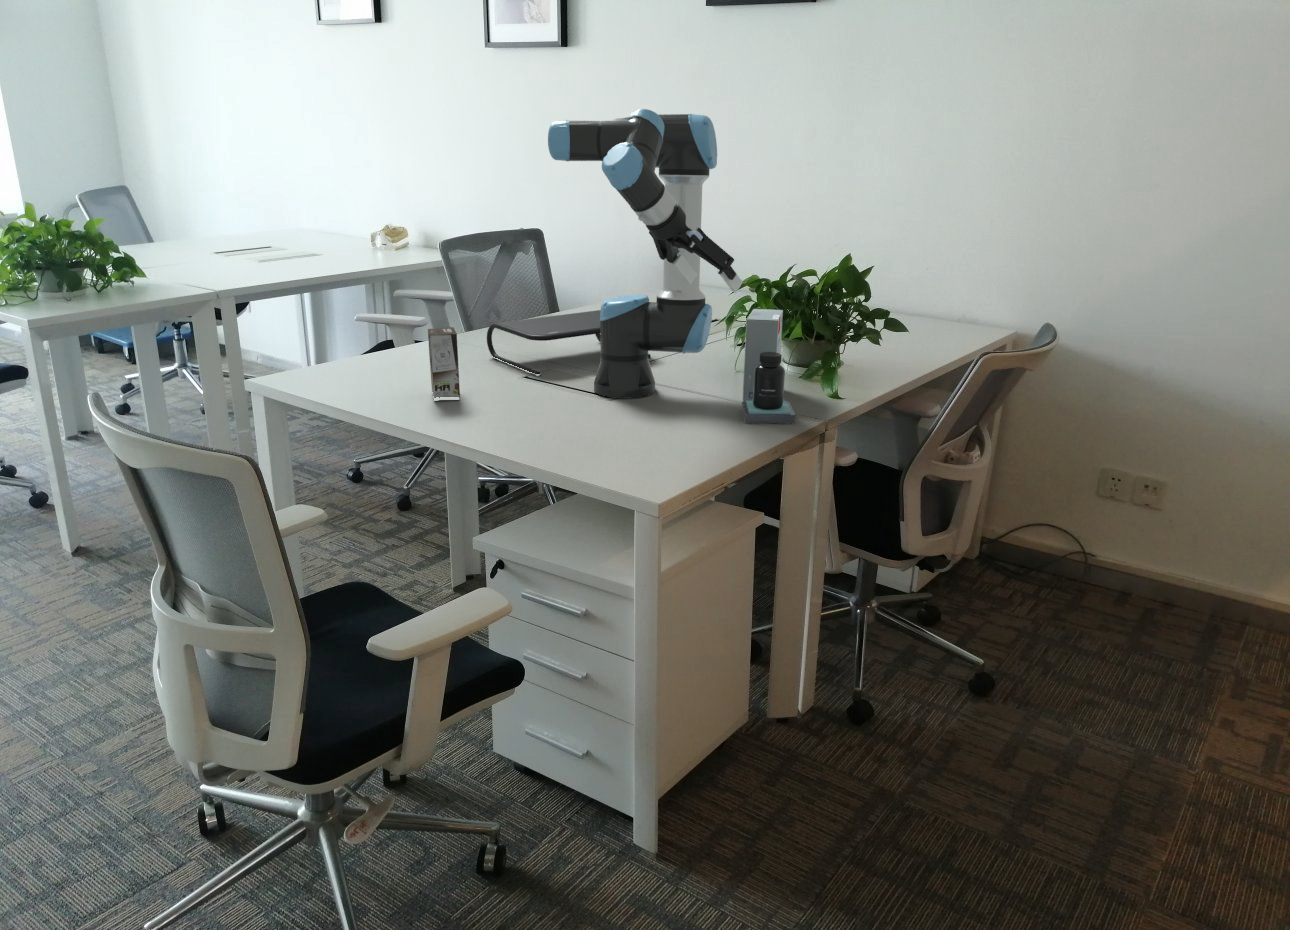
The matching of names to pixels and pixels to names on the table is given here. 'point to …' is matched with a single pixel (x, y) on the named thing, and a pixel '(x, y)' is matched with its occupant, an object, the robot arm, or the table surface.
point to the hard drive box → (760, 343)
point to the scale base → (767, 416)
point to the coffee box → (444, 362)
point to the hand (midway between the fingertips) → (715, 283)
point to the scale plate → (755, 410)
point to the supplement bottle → (769, 382)
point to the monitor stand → (548, 330)
